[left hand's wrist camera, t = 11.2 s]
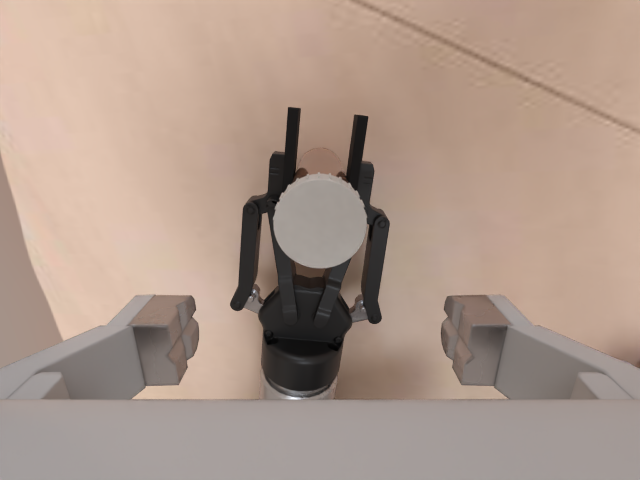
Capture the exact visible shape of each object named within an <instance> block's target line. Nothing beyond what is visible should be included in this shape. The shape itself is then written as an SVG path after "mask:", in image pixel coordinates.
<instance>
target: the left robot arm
mask: <svg viewBox="0 0 640 480" xmlns="http://www.w3.org/2000/svg"><path fill="white" fill-rule="evenodd" d="M195 311H196V306H195V300H194V298H193V297H192V296H188V295H136V296H135V297H134V298H133V299H132V300H131V301H130V302H129V303H128V304H127V305H126V306H125V307H124V308H123V309H122V310H121V311H120V312H119V313H118V314H117V315H116V316H115V317H114V318H113V319H112V320H111V321H110V322H109V323H108V324H107V325H106V326H98V327H96V328H93V329H91V330H89V331H86V332H84V333H82V334H79V335H77V336H75V337H72V338H70V339H68V340H65V341H63V342H61V343H58V344H56V345H54V346H51V347H49V348H47V349H44V350H42V351H40V352H37V353H35V354H33V355H30V356H28V357H26V358H23V359H21V360H19V361H16V362H14V363H12V364H9V365H7V366H5V367H2V368H0V480H640V368H637V367H635V366H633V365H630V364H628V363H626V362H623V361H621V360H619V359H616V358H614V357H612V356H610V355H607V354H605V353H603V352H600V351H598V350H596V349H593V348H591V347H589V346H586V345H584V344H582V343H579V342H577V341H575V340H572V339H570V338H568V337H565V336H563V335H561V334H558V333H556V332H554V331H551V330H549V329H547V328H544V327H542V326H534V325H533V324H532V323H531V322H530V321H529V320H528V319H527V318H526V317H525V316H524V315H523V314H522V313H521V312H520V311H519V310H518V309H517V308H516V307H515V306H514V305H513V304H512V303H511V302H510V301H509V300H508V299H507V298H506V297H505V296H503V295H500V294H499V295H460V296H447V298H446V301H445V306H444V311H445V312H446V314H447V316H448V317H447V318H446V319H445V320H444V321H443V323H442V328H441V341H442V346H443V349H444V352H445V354H446V356H447V357H449V358H450V359H452V360H453V366H452V368H453V370H454V372H455V373H456V375H457V377H458V379H459V381H460V383H461V385H478V386H495V387H494V388H496V389H497V390H498V391H500V392H501V393H502V394H503V395H505V396H506V397H507V398H509V399H132V398H133V397H134V396H135V395H137V394H138V393H139V392H141V391H142V390H143V389H144V388H145V386H162V385H179V383H180V381H181V379H182V377H183V375H184V373H185V372H186V370H187V368H188V366H187V360H188V359H190V358H191V357H193V356H194V354H195V352H196V350H197V346H198V341H199V327H198V323H197V321H196V320H195V319H194V318H193V317H192V316H193V314H194V312H195Z"/></svg>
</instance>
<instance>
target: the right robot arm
mask: <svg viewBox="0 0 640 480" xmlns="http://www.w3.org/2000/svg"><path fill="white" fill-rule="evenodd" d="M300 112H301V108H293V107H288V117H287V131H286V144H285V152H277V151H275V152H274V153H273V154H272V156H271V158H270V164H269V181H268V192H267V193H266V194H263V195H259V196H252V197H251V198H250V199H249V200H248V201H247V203H246V204H245V205H244V207H243V218H242V234H241V251H240V267H239V284H238V287H237V289H236V292H235V294H234V296H233V298H232V300H231V303H230V306H231V308H232V309H233V310H235V311H240V310H242V309H243V308H246V309H249V310H251V311H253V312H255V313H258V317H259V320H260V322H261V324H262V326H263V341H262V358H261V365H262V368H261V372H260V391H259V399H335V393H336V386H337V379H338V372H339V367H340V360H341V354H342V347H343V341H344V336H345V334H346V333H347V331H348V330H349V329H350V328H351V326H352V323H354V322H358V321H362V320H367V319H368V320H369V322H370V323H372V324H377V323H379V322H380V321H381V319H382V316H381V312H380V308H379V304H378V295H379V288H380V282H381V276H382V269H383V263H384V257H385V250H386V244H387V238H388V232H389V225H390V222H389V220H388V218H387V216H386V215H385V213H384V212H383V210H381V209H377V208H375V207H373V206H371V205H370V195H371V189H372V183H373V177H374V167H373V164H372V163H371V162H367V161H362V156H363V149H364V142H365V136H366V129H367V122H368V116H362V115H354V121H353V129H352V136H351V144H350V151H349V158H348V166H347V173H346V178H347V181H348V183H350V184H351V186H352V188H353V189H354V190H355V191H356V190H357V192H358V194H359V196H360V197H359V198H360V200H362V201H363V203H364V206H365V207H364V210H365V212H366V214H367V224H369V230H368V237H367V244H366V251H365V259H364V266H363V273H362V280H361V292H362V294H360V295H358V296H357V297H356V298H355V304H354V306H353V307H352V308H349V307H348V306H347V304H346V302H345V301H344V299H343V298H342V296H341V294H340V293H339V291H340V288H341V283H342V280H343V278H344V275H345V273H346V270H347V268H348V265H349V263H350V260H351V258H352V257H351V258H350V259H348V260H347V261H345V262H343V263H341V264H339V265H337V266H334V267H330V268H326V269H325V272H324V275H323V277H315V278H308V277H305V276H302V275H297V274H296V267H295V263H294V260H292V259H291V258H290V257H288V256H287V255H286V254H285V253H284V251H283V250H282V249H281V247H280V246H279V244H278V242H277V240H276V237H275V233H274V225H273V222H274V220H273V217H274V215H275V211H276V210H275V207H276V204H277V202H279V201H280V199H279V198H280V196H281V194H282V192H283V193H284V192H285V191H286V189H287V187H288V185H289V184H290V185H291V184H292V181H293V179H294V176H295V171H296V159H297V147H298V136H299V124H300ZM267 212H268V218H269V224H270V230H271V236H272V242H273V248H274V254H275V260H276V266H277V273H278V286H277V287H276V288H275V289H274V290H273V291H272V293H271V294H270V295H269V296H268V297H267V298H266V299H265V300H263V299H262V298H261V297H260V288H259V287H258V285H257V284H254V283H255V280H256V277H257V271H258V259H259V247H260V234H261V222H262V214H263V213H267Z"/></svg>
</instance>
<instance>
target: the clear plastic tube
mask: <svg viewBox="0 0 640 480" xmlns="http://www.w3.org/2000/svg"><path fill="white" fill-rule="evenodd" d="M318 172H320V174H329V173H331V175H333V176H336V177H338V178H339V177H341V178H342V180H344V181H345V182H347V183H348V181H347V178H346V175H345V173H344V170H343V167H342V164H341V162H340V160H339V158H338V157H337V155H336V154H335V153H333V152H332V151H330V150H328V149H325V148H315V149H312V150H310V151H308V152H307V153H306V154H305V155H304V156H303V157H302V158H301V160H300V163H299V165H298V168H297V171H296V173H295V176H294V179H293V181H292V183H294V182H295V181H296V179H297V178H299V179H300V178H302V177H305V176H307V174H309V175H312V174H318Z"/></svg>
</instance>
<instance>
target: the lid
mask: <svg viewBox="0 0 640 480" xmlns="http://www.w3.org/2000/svg"><path fill="white" fill-rule="evenodd" d="M359 197H360V196H359V194H358V192H357V190H356V191H355V190H354V189H353V188H352V186H351V184H350V183H347V182H345V181H344V180H342V178H341V177H339V178H338V177H336V176H333V175H331V173H329V174H320V172H318V174H312V175H309V174H307V176H305V177H302V178H300V179H299V178H297V179H296V181H295V182H294V183H292V184H291V185H290V184H289V185H288V187H287V189H286V191H285V192H284V193H283V192H282V194H281V196H280V198H279V199H280V201H279V202H277V204H276V207H275V210H276V211H275V215H274V217H273V220H274V222H273V225H274V233H275V237H276V240H277V242H278V244H279V246H280V247H281V249H282V250H283V251H284V253H285V254H286V255H287V256H288V257H290V258H291V259H292V260H294V261H295V262H297V263H299V264H301V265H304V266H307V267H311V268H330V267H334V266H337V265H339V264H341V263H343V262H345V261H347V260H348V259H350V258H351V257H352V256H353V255H354V254H355V253H356V252H357V251H358V249H359V248H360V246H361V245H362V243H363V241H364V238H365V235H366V230H367V214H366V212H365V210H364V207H365V206H364V203H363V201H362V200H360V198H359Z"/></svg>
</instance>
